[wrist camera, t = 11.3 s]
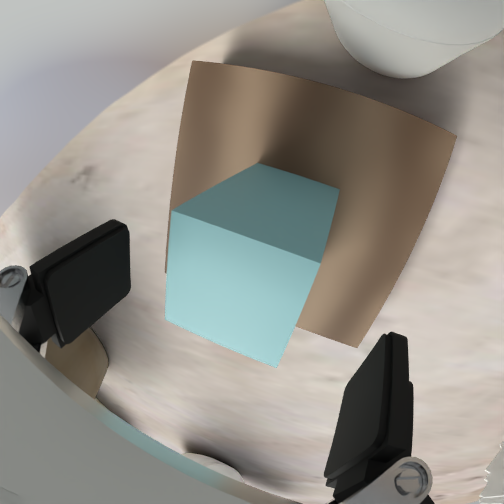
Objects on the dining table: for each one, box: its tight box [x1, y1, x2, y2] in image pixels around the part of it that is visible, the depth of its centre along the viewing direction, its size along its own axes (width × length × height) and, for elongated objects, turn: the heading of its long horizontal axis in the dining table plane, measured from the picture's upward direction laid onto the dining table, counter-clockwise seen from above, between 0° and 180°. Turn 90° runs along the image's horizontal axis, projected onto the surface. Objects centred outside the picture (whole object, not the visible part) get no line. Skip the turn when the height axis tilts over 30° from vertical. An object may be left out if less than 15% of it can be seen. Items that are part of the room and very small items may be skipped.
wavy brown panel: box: [165, 61, 457, 348], centre depth 20 cm, size 16×16×4 cm
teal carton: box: [165, 163, 340, 368], centre depth 14 cm, size 5×5×9 cm
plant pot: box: [45, 327, 108, 400], centre depth 35 cm, size 25×25×22 cm
